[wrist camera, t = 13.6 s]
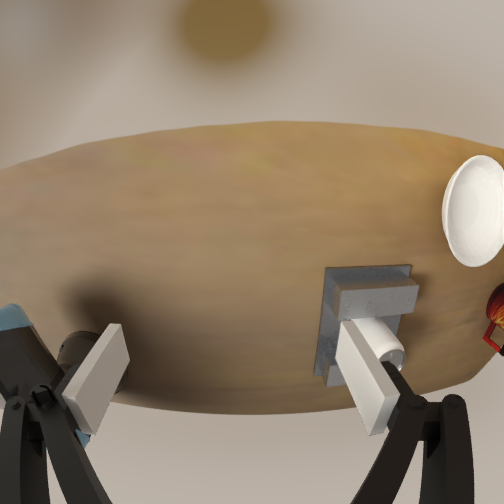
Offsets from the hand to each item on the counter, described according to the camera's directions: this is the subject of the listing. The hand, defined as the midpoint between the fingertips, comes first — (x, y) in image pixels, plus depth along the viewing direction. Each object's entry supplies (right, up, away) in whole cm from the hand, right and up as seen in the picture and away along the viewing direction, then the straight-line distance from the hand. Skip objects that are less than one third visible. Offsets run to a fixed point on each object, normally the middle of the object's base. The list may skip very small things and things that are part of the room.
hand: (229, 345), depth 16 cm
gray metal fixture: (+21, -7, +33) cm, 40 cm away
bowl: (+41, +14, +28) cm, 51 cm away
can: (+21, -8, +33) cm, 40 cm away
